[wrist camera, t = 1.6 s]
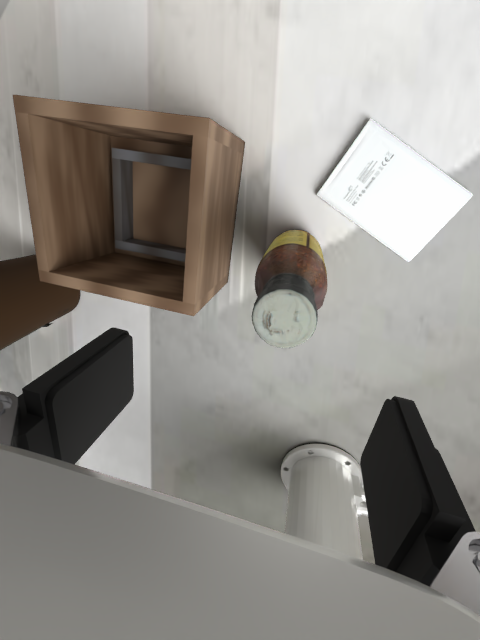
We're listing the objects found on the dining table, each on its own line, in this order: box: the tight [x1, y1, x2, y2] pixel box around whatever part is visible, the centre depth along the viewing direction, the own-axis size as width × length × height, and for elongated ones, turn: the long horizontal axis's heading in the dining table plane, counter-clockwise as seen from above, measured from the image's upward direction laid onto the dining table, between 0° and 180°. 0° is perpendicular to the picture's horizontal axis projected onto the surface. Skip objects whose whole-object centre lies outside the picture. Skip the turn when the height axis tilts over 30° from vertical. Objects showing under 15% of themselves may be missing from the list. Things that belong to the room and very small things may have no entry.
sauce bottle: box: [252, 230, 327, 348], centre depth 27 cm, size 7×6×20 cm
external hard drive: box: [317, 118, 473, 262], centre depth 32 cm, size 2×8×12 cm
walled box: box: [13, 95, 245, 316], centre depth 32 cm, size 17×16×12 cm
